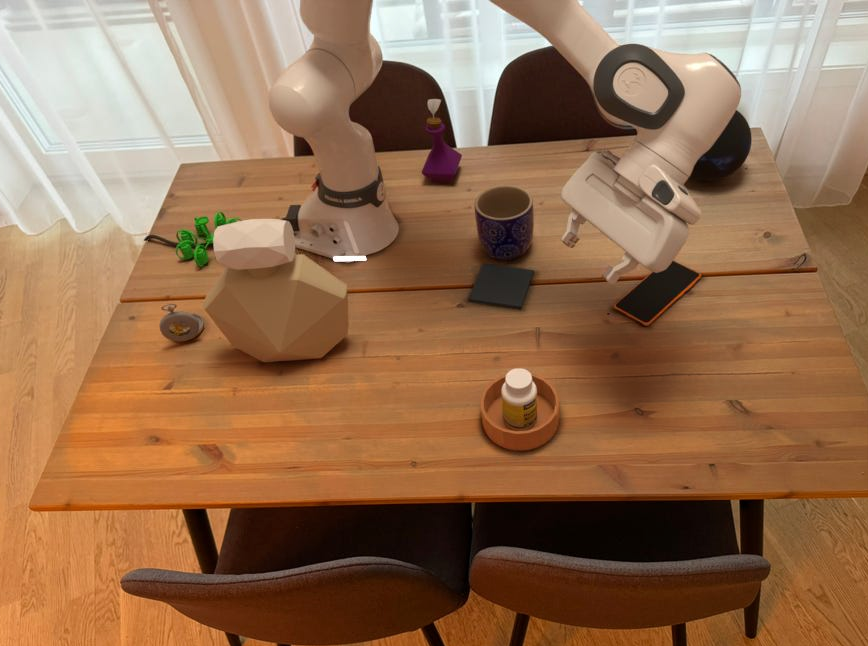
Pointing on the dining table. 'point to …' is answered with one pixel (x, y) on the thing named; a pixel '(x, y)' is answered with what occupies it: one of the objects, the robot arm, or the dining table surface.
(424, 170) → the perfume bottle
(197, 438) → the dining table surface
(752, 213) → the dining table surface
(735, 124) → the decorative sphere
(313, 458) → the dining table surface
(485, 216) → the planter
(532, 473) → the dining table surface
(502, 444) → the round wooden tray
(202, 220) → the chandelier
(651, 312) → the smartphone
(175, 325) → the pocket watch
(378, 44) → the robot arm
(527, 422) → the supplement bottle
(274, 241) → the faceted beige jar
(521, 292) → the mat
